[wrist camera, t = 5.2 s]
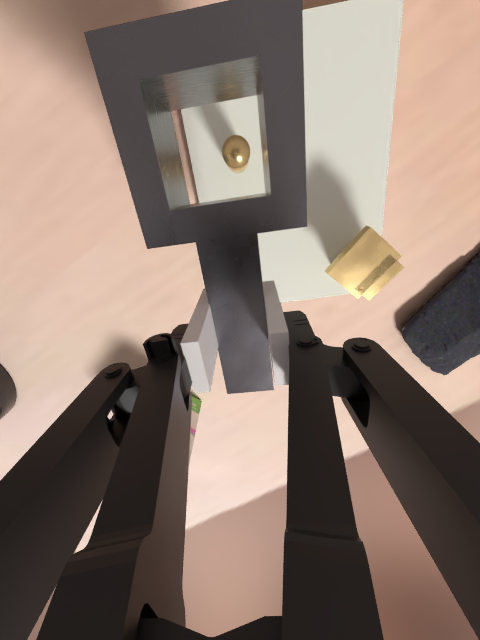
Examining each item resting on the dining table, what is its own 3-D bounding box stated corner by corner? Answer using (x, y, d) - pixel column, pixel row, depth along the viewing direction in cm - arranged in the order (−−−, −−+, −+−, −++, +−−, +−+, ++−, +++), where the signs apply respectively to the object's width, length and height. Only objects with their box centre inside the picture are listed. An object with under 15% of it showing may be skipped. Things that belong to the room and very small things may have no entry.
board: (221, 306, 34) (220, 310, 33) (170, 45, 23) (166, 38, 22) (372, 287, 33) (376, 290, 31) (396, -2, 21) (404, -12, 20)
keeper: (307, 253, 31) (327, 273, 24) (338, 217, 29) (370, 226, 22) (337, 278, 32) (365, 304, 25) (369, 245, 30) (408, 262, 23)
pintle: (229, 174, 26) (224, 170, 19) (225, 151, 25) (219, 137, 18) (249, 171, 26) (251, 165, 19) (246, 147, 25) (248, 132, 18)
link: (134, 79, 13) (84, 32, 9) (285, 49, 12) (301, -16, 8) (203, 360, 21) (192, 402, 17) (298, 351, 20) (311, 392, 16)
